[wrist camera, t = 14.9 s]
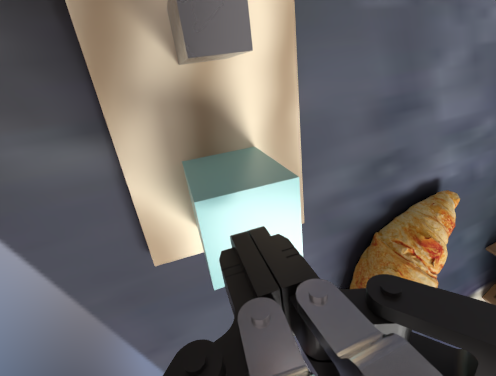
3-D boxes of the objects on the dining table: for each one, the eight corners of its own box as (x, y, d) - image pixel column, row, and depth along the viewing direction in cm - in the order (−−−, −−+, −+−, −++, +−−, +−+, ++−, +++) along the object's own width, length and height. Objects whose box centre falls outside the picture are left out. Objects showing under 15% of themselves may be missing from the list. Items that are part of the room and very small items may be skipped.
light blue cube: (254, 146, 21) (299, 177, 15) (262, 209, 24) (303, 261, 17) (181, 161, 20) (194, 202, 13) (197, 227, 22) (214, 290, 16)
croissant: (401, 167, 34) (439, 171, 26) (471, 208, 33) (532, 224, 26) (311, 300, 37) (320, 338, 29) (374, 338, 37) (401, 388, 29)
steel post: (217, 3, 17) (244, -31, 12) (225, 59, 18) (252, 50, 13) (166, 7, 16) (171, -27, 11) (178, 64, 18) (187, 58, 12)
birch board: (280, -65, 18) (290, -77, 17) (297, 216, 27) (304, 222, 26) (50, -61, 15) (39, -75, 14) (155, 255, 24) (154, 266, 23)
